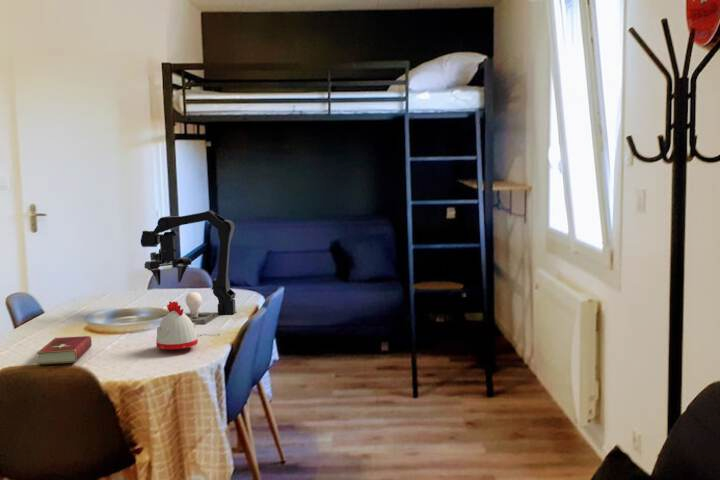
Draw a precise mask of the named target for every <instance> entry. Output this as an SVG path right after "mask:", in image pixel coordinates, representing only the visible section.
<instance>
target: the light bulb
mask: <svg viewBox="0 0 720 480" xmlns="http://www.w3.org/2000/svg"><path fill="white" fill-rule="evenodd" d="M184 301H185V303H186V306H187V307H188V309H189V314H191V318H193V319H196V318H198V314H199V311H200V307H201V305H202V303H203V298H202V295H201V294H200V293H198V292H196V291H192V292H189V293H188V294H187V295H186V296H185V300H184Z"/></svg>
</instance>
